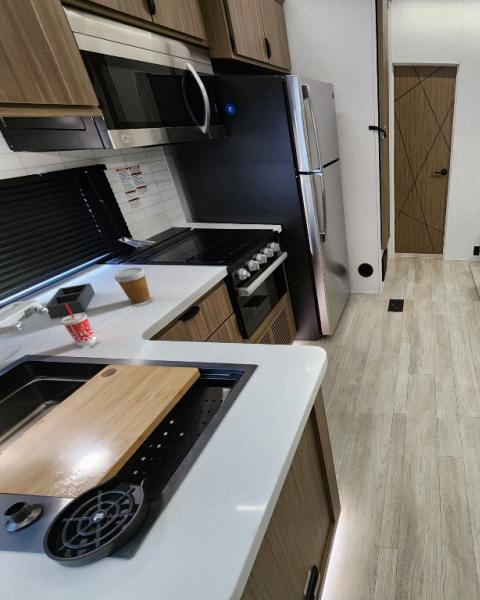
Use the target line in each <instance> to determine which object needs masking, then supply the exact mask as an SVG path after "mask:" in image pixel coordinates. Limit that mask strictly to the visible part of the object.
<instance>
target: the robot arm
mask: <svg viewBox="0 0 480 600" xmlns="http://www.w3.org/2000/svg"><path fill="white" fill-rule="evenodd" d="M47 312H49V311H48V309H47V308H45V306H43V305H42V303H41V302H40V301H39V300H37V299H29V300H21V301H15V302H11V303H9V304H7V305H5V306H4V307H1V308H0V337H1V336H4V335H6V334H9V333H10V334H11V333H12V332H19V331H21V330H23V329H24V326H23V323H24V322H26V321H27V320H28V319H30V318H31V317H34V316H35V315H37V314H38V315H40V316H41V315H46V314H48V313H47Z"/></svg>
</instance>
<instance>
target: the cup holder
mask: <svg viewBox="0 0 480 600" xmlns="http://www.w3.org/2000/svg"><path fill="white" fill-rule="evenodd" d="M95 295H96V292H95V290H94V288H93V286H92V284H91V283H90V282H88V283H83V284H76V285H71V286H65V287H60V288H58V290H57V291H56V292H55V294H54V295H53V296H52V298H51V299H50V300H49V301H48V302H47V304H45V306H44V307H45V308H47V309H48V311H49V312H47V313H46V314H48V316H49V318H50V319H51V320H53V319H57V318H61V317H67V316H70V315H71V314H70V313H69V311H68V309H67V307H66V306H65V304H66V303H67V305H68V307H69V309H70V310H71V312H72V314H77V313H85V312H86V310H87V309H88V307H89V305H90V303H91V302H92V300H93V298H94V296H95Z"/></svg>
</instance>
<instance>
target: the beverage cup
mask: <svg viewBox="0 0 480 600" xmlns="http://www.w3.org/2000/svg"><path fill="white" fill-rule="evenodd" d="M65 306H66V307H67V309H68V311H69V313H70V314H71V315H67V316H64V317H63V318H62V319H61V320H60V323H61V325H62V326H64V327H65V329H66V331H67V332H68V333H69V334H70V336H71V338H72V339H73V340H74V342H75V343H76V345H77V346H78V347H85V346H88V345H91V344H93V343H94V342H96V341H97V337H96V336H95V335H96V334H95V333H94V330H93V328H92V326H91V324H90V322H89V320H88V315H87V313H85V312H82V313H77V314H72V312H71V310H70V309H69V307H68V305H67V303H66V304H65Z"/></svg>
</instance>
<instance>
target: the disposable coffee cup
mask: <svg viewBox="0 0 480 600" xmlns="http://www.w3.org/2000/svg"><path fill="white" fill-rule="evenodd" d="M114 280H115V281H116V282H117V283H118V284H119V286H120V288H121V289H122V291H123V292H124V294H125V295H126V296H127V298H128V299H129V301H130V303H131V304H141V303H145V302H147V301H149V300H150V299H151V295H150V291H149V287H148V283H147V282H148V281H147V279H146V271H145V270H144V269H143V268H141V267H130V268H126V269H122V270H119V271H117V272H116V273H115V274H114Z"/></svg>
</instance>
